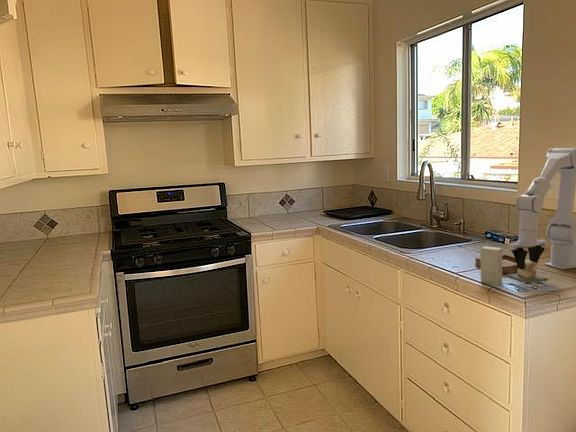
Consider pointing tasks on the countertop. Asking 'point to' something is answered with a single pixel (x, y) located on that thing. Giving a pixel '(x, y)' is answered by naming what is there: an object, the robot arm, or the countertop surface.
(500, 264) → the skincare box
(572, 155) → the robot arm
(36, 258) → the countertop surface
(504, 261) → the slot box
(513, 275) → the mat
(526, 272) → the maple block
